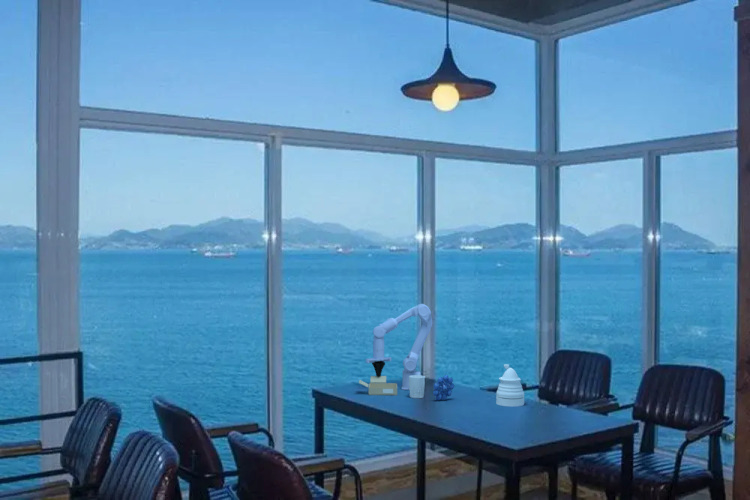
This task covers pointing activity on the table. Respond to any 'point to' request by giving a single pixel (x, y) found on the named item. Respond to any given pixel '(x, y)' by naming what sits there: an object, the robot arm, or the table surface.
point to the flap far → (363, 383)
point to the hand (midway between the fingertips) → (378, 376)
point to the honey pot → (510, 389)
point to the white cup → (416, 386)
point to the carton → (382, 388)
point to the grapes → (443, 387)
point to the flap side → (378, 379)
